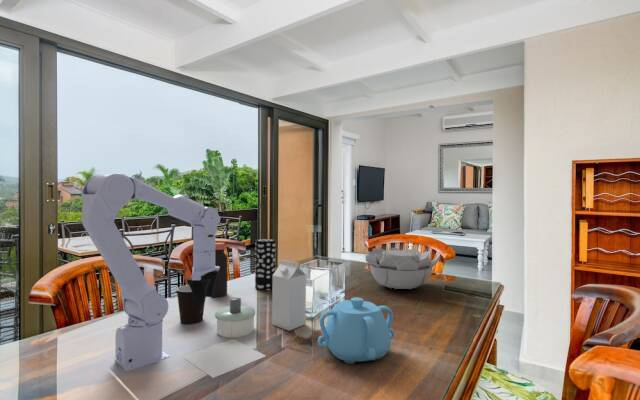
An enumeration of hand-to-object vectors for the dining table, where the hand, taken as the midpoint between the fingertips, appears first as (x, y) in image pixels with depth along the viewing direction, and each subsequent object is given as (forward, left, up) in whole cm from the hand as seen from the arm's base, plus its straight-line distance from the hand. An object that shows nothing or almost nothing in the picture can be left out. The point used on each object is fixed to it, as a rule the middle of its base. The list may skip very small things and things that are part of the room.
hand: (204, 300), depth 96 cm
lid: (+8, -3, -5) cm, 10 cm away
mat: (-3, -15, -10) cm, 18 cm away
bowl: (+8, -3, -10) cm, 13 cm away
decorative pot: (+21, -36, -10) cm, 43 cm away
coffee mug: (+5, +15, -10) cm, 19 cm away
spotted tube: (+43, +28, -10) cm, 52 cm away
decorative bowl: (+83, -11, -10) cm, 84 cm away
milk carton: (+22, -10, -10) cm, 26 cm away
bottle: (+24, +33, -10) cm, 42 cm away
